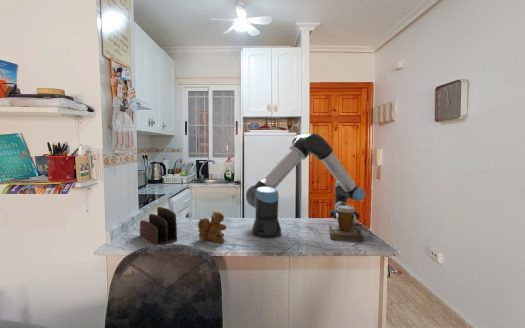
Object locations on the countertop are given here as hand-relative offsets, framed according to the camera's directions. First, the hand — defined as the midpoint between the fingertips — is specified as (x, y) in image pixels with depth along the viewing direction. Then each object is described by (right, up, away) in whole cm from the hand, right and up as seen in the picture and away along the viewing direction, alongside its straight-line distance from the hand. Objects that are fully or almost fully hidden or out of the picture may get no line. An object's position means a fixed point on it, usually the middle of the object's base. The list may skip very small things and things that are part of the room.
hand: (346, 219), depth 138 cm
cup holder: (-1, -8, -1) cm, 8 cm away
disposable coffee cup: (+1, -6, +5) cm, 8 cm away
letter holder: (-94, -8, -9) cm, 95 cm away
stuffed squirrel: (-68, -8, -9) cm, 69 cm away
